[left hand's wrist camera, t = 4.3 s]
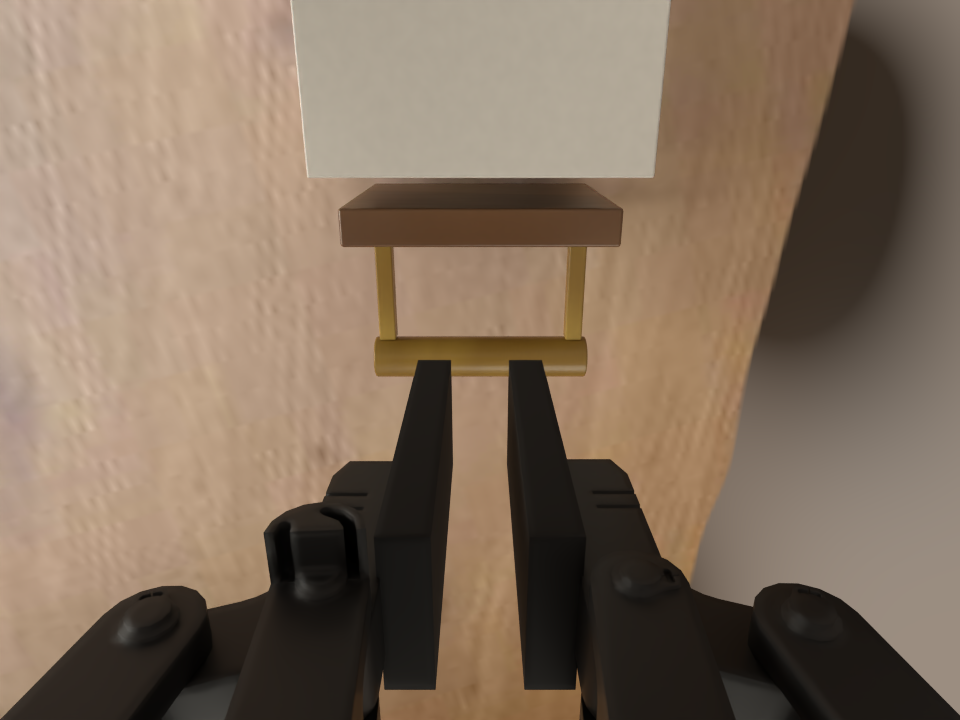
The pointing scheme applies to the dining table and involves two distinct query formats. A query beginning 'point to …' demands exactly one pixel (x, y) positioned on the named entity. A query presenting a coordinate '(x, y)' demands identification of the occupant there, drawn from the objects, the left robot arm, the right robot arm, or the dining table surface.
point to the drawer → (480, 223)
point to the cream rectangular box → (480, 87)
